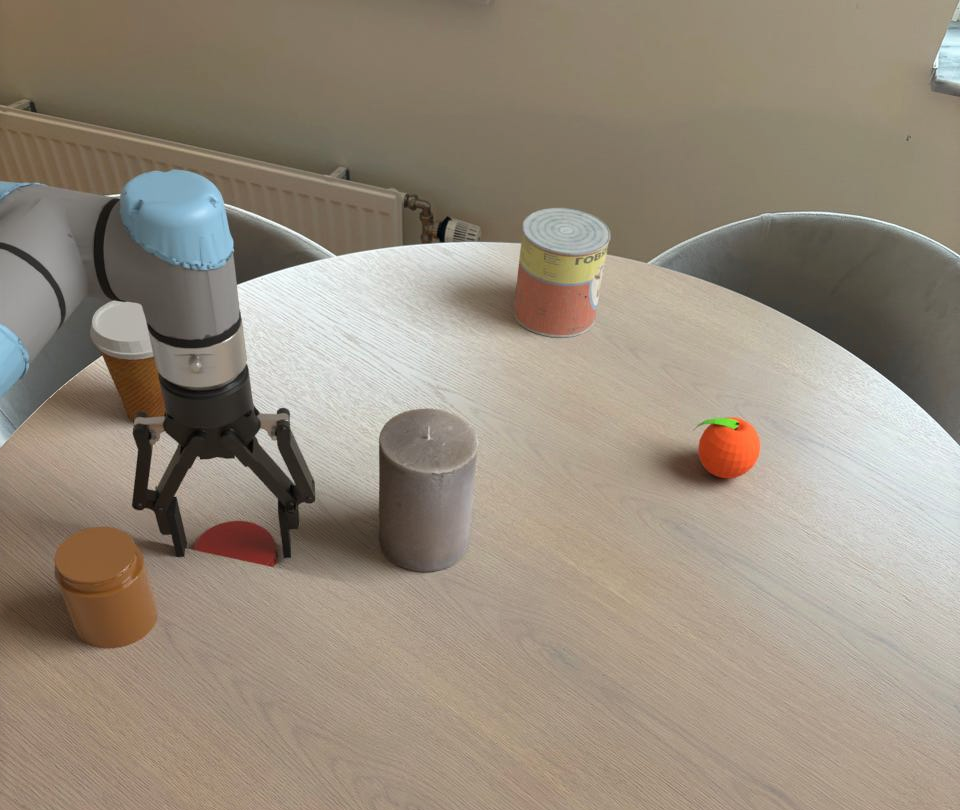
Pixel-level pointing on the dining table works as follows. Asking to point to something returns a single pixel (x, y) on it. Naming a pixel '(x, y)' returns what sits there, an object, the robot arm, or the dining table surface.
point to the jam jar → (105, 587)
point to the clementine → (728, 447)
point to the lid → (239, 542)
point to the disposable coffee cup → (129, 356)
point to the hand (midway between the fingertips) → (235, 550)
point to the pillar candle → (426, 488)
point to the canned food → (560, 271)
